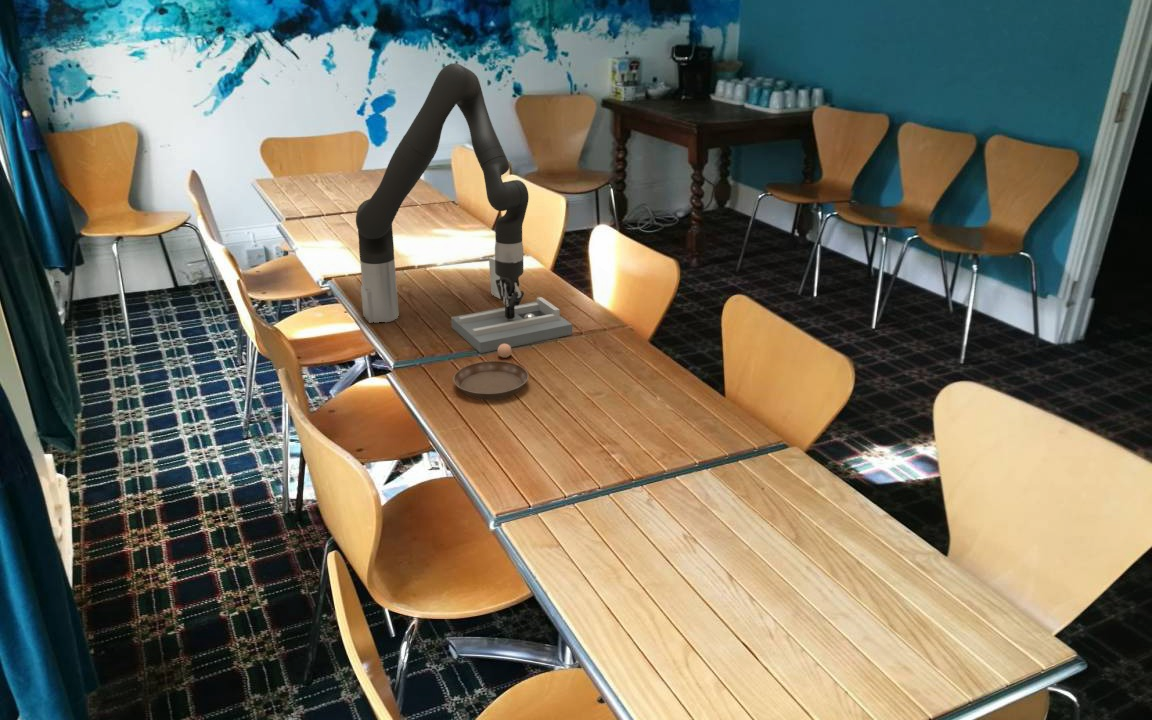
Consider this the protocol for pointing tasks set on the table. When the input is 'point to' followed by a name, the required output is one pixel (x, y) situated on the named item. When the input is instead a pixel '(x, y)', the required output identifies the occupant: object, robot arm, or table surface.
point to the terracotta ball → (504, 350)
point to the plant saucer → (491, 379)
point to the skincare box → (493, 277)
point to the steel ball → (529, 316)
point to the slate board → (512, 326)
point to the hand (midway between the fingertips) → (509, 317)
